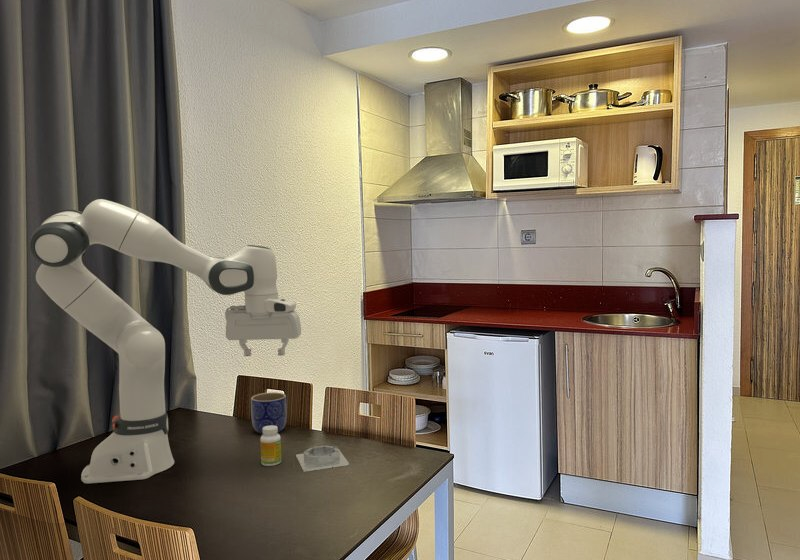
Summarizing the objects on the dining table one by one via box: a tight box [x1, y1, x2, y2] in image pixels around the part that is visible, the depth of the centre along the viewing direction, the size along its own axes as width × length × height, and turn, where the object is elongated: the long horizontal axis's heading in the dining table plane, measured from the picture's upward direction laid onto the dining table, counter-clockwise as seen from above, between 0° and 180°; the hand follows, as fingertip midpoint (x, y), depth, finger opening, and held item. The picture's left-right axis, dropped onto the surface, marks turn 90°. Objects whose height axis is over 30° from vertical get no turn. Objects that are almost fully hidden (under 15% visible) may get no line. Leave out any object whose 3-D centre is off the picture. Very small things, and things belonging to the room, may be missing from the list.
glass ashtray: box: [295, 444, 350, 473], centre depth 164 cm, size 12×12×3 cm
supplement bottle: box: [259, 425, 282, 467], centre depth 163 cm, size 5×5×10 cm
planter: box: [250, 392, 288, 435], centre depth 190 cm, size 11×11×11 cm
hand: (264, 355), depth 164 cm, fingers open, 8 cm apart
